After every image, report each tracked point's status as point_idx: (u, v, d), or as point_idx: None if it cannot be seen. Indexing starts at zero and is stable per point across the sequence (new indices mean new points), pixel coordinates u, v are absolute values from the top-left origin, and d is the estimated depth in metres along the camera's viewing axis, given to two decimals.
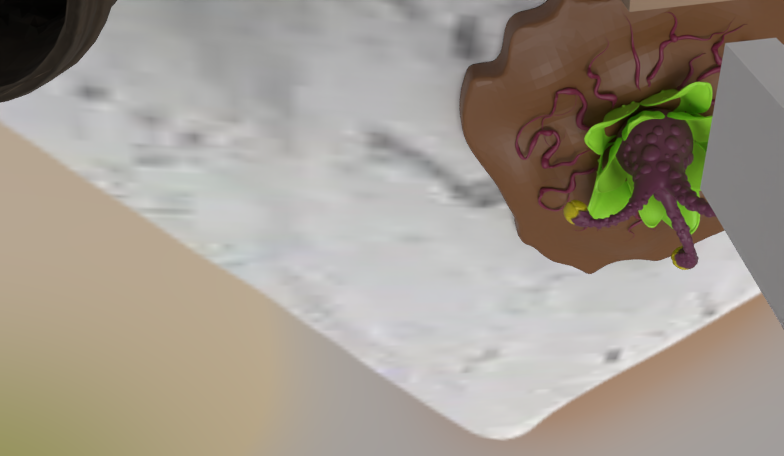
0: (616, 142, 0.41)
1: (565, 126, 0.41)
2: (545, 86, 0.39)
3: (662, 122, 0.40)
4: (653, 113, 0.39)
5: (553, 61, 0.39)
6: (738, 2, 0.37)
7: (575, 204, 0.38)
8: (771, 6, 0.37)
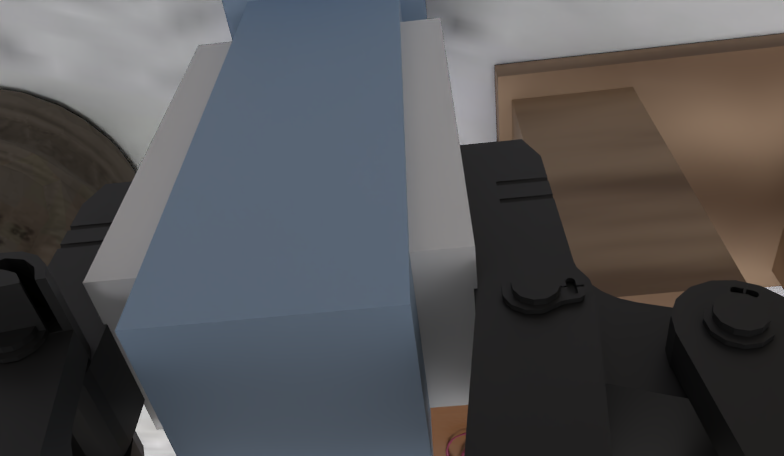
0: None
1: None
2: None
3: None
4: None
5: None
6: None
7: None
8: None
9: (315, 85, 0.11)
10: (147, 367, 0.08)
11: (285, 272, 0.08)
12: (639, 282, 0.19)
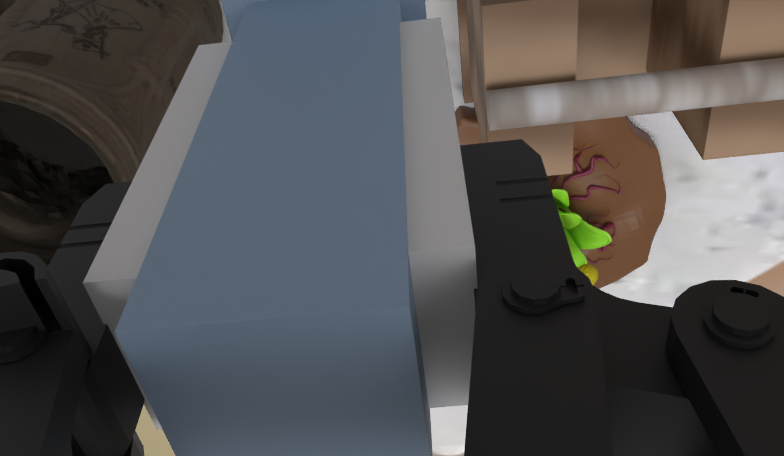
0: None
1: None
2: None
3: None
4: None
5: None
6: (589, 129, 0.49)
7: None
8: (615, 132, 0.50)
9: (315, 88, 0.11)
10: (147, 368, 0.08)
11: (284, 273, 0.08)
12: None
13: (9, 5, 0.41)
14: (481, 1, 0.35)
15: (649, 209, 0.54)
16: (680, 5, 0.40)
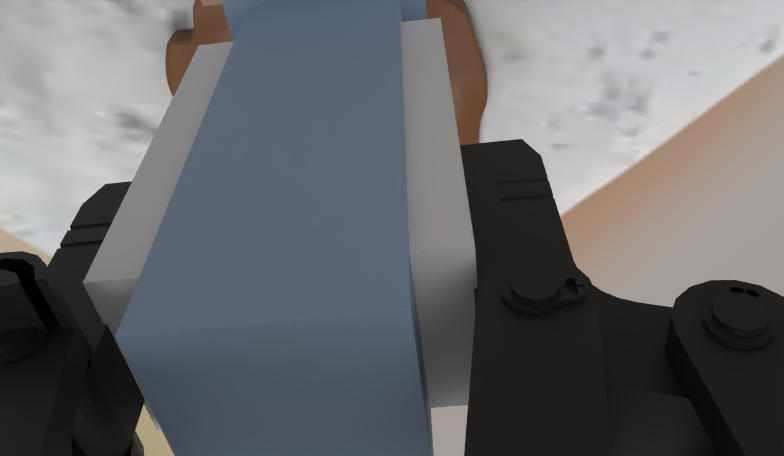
0: None
1: None
2: None
3: None
4: None
5: None
6: None
7: None
8: None
9: (316, 90, 0.11)
10: (147, 372, 0.08)
11: (284, 277, 0.08)
12: None
13: None
14: None
15: (468, 89, 0.47)
16: None
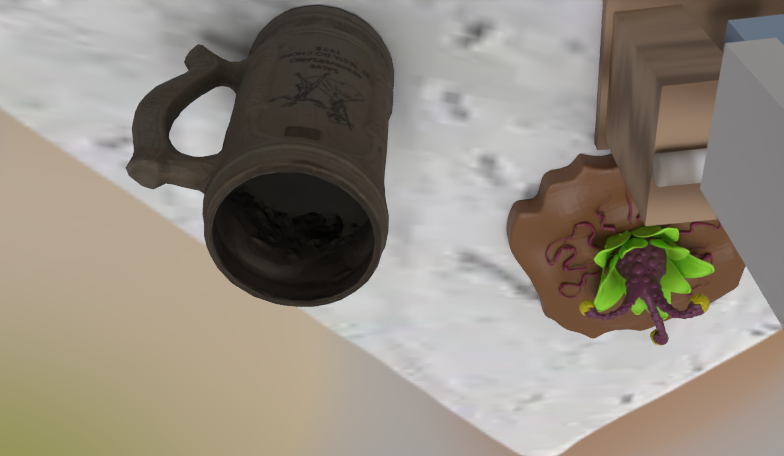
0: (615, 257, 0.60)
1: (580, 244, 0.61)
2: (568, 221, 0.59)
3: (646, 247, 0.59)
4: (640, 241, 0.58)
5: (574, 205, 0.58)
6: None
7: (587, 303, 0.57)
8: None
9: None
10: None
11: None
12: (694, 78, 0.41)
13: (231, 72, 0.48)
14: (660, 81, 0.41)
15: None
16: None
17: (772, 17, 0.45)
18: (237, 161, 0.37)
